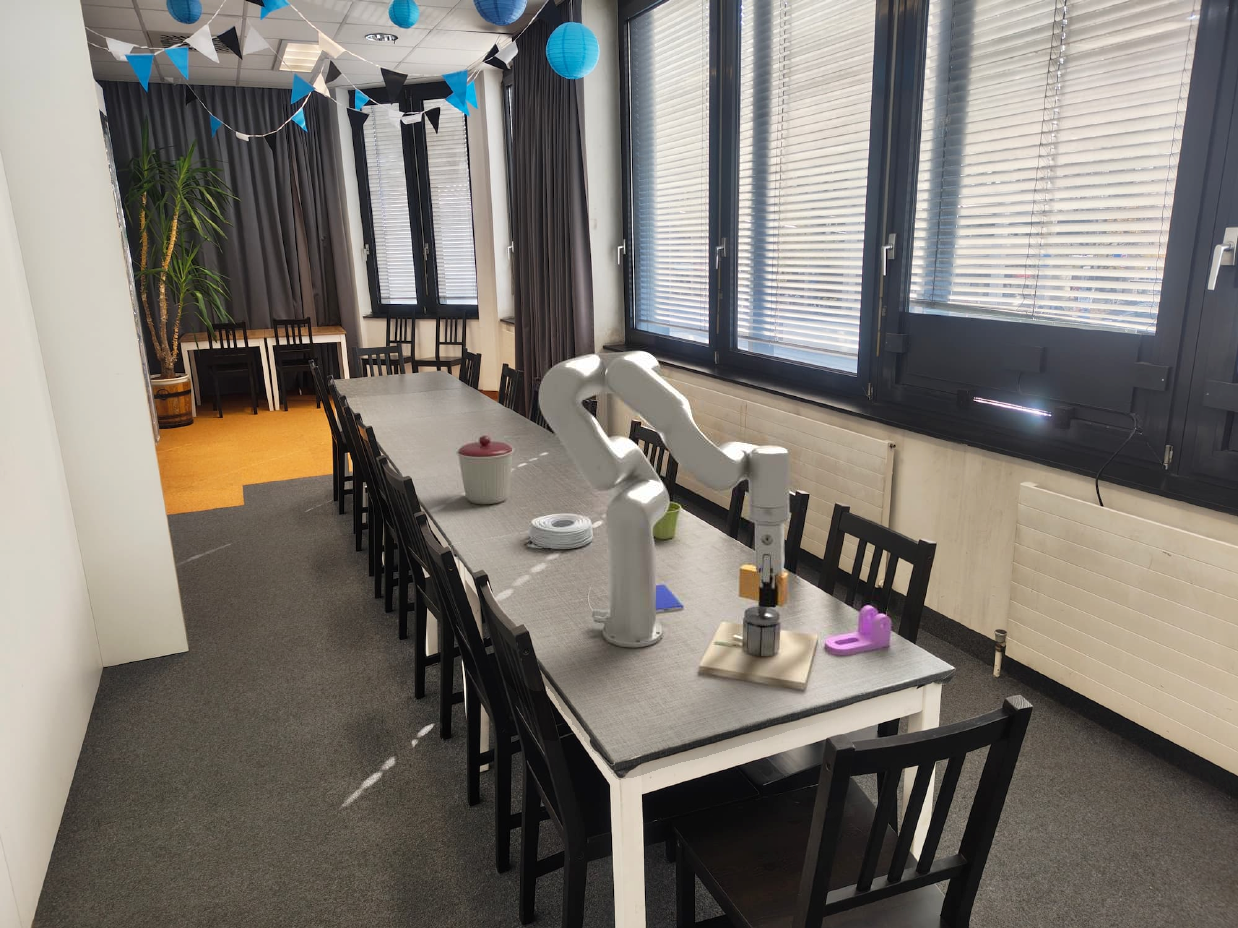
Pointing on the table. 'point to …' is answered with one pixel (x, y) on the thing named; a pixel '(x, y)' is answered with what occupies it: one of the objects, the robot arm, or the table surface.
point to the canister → (486, 470)
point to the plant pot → (667, 523)
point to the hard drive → (666, 600)
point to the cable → (560, 531)
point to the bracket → (863, 634)
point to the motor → (760, 614)
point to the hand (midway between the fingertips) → (768, 601)
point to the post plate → (760, 658)
